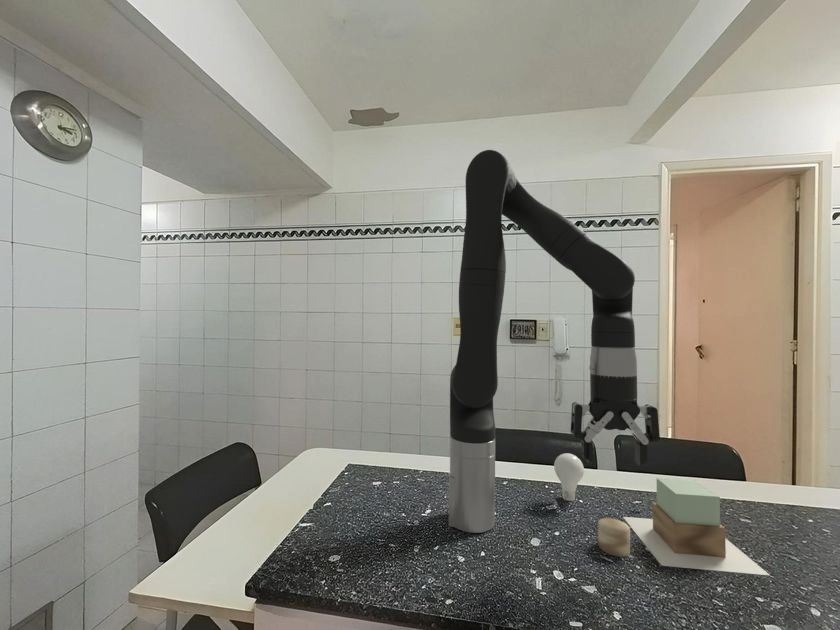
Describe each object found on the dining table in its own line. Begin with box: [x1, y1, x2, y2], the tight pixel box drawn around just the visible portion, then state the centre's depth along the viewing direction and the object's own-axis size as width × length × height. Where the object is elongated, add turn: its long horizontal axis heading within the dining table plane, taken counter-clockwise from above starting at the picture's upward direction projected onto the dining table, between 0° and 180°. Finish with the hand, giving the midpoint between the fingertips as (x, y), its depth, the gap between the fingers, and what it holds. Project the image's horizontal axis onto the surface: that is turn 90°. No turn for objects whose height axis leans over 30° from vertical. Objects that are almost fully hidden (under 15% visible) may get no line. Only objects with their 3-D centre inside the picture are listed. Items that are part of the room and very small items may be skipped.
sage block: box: [656, 477, 721, 526], centre depth 69 cm, size 7×7×5 cm
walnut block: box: [652, 502, 726, 558], centre depth 69 cm, size 8×8×5 cm
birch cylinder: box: [597, 517, 631, 558], centre depth 67 cm, size 5×5×5 cm
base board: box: [622, 516, 771, 576], centre depth 69 cm, size 16×16×1 cm
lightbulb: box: [553, 452, 585, 502], centre depth 86 cm, size 6×6×11 cm
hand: (614, 463), depth 67 cm, fingers open, 8 cm apart
